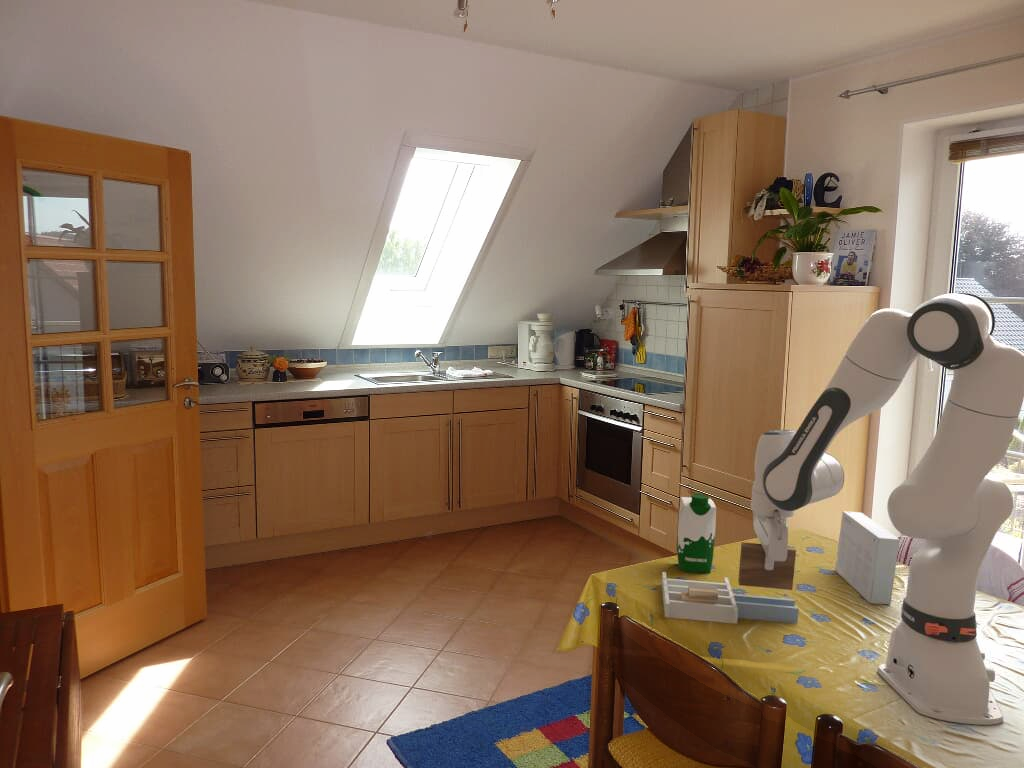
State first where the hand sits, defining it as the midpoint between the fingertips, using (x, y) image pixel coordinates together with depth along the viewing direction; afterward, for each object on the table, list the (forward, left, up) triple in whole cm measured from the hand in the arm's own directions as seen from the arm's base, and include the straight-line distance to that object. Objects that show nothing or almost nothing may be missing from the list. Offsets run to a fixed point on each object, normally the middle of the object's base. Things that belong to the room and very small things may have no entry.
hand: (766, 565), depth 168 cm
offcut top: (-2, +13, -7) cm, 15 cm away
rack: (+3, +14, -12) cm, 18 cm away
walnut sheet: (0, 0, -5) cm, 5 cm away
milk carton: (+25, +13, -12) cm, 30 cm away
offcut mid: (-2, +14, -9) cm, 17 cm away
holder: (0, 0, -12) cm, 12 cm away
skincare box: (+24, -27, -12) cm, 38 cm away
